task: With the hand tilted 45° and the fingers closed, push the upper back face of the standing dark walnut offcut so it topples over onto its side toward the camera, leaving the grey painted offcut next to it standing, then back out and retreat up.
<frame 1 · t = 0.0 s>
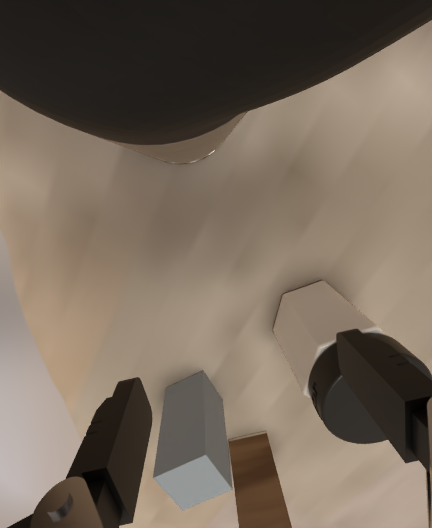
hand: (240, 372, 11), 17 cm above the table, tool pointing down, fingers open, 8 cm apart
walnut block: (250, 448, 36), on the table
grey block: (194, 393, 33), on the table
jar: (309, 315, 30), on the table
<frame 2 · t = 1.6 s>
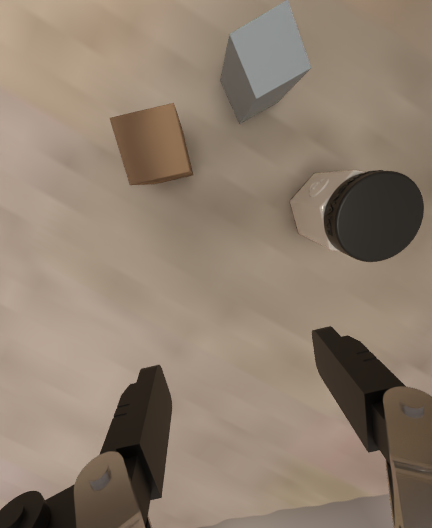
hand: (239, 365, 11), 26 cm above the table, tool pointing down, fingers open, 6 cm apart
walnut block: (168, 158, 33), on the table
grey block: (249, 91, 31), on the table
jar: (321, 207, 36), on the table
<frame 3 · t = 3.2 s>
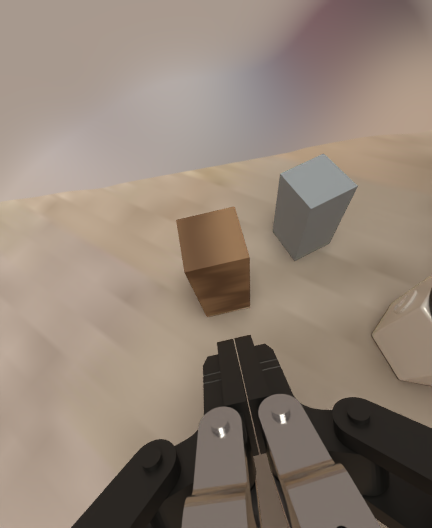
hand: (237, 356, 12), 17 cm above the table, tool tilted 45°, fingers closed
walnut block: (224, 292, 32), on the table
grey block: (300, 237, 34), on the table
jar: (418, 343, 27), on the table
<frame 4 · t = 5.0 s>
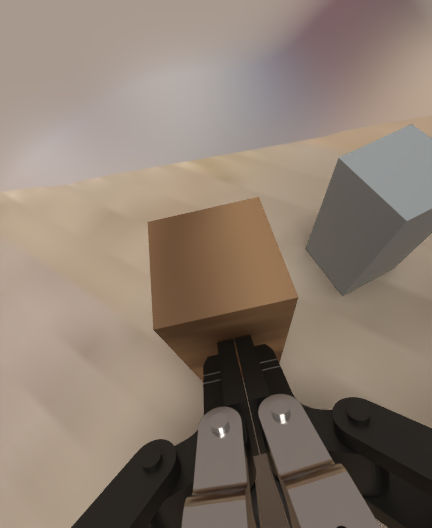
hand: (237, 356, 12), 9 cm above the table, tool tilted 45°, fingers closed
walnut block: (234, 344, 20), on the table, tilted 6°, touching gripper
grey block: (347, 258, 23), on the table
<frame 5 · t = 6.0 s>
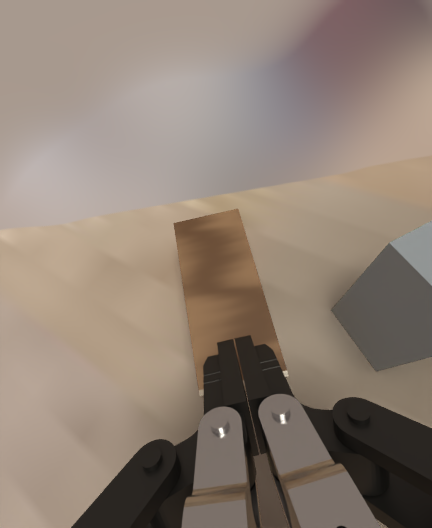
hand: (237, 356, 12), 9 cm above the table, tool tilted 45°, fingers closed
walnut block: (244, 388, 17), point 2 cm above the table, tilted 90°
grey block: (380, 323, 20), on the table
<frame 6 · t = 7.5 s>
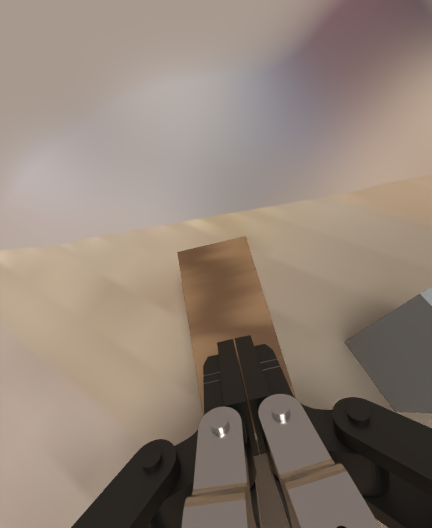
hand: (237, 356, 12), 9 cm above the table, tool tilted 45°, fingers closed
walnut block: (255, 435, 16), point 2 cm above the table, tilted 90°
grey block: (397, 357, 19), on the table
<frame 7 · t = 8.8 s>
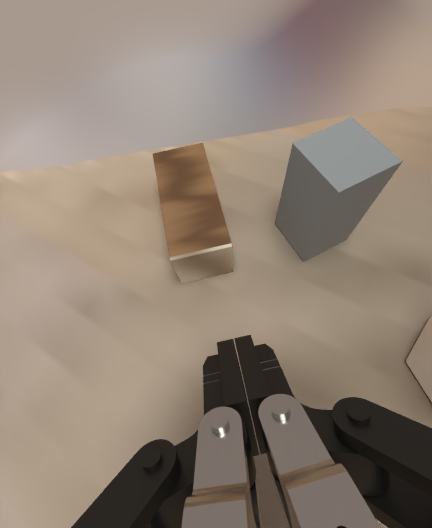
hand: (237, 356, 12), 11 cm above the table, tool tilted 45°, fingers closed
walnut block: (204, 266, 24), point 2 cm above the table, tilted 90°
grey block: (309, 231, 27), on the table
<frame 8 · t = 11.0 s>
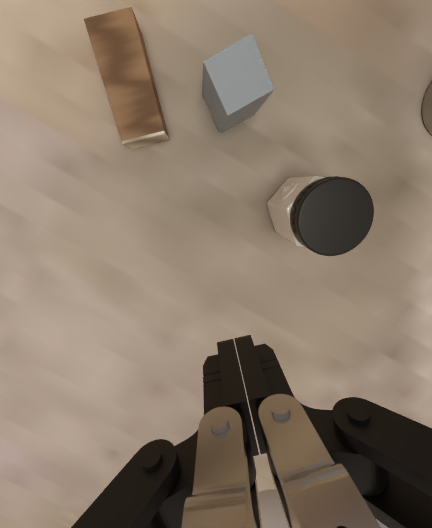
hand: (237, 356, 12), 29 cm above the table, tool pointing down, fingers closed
walnut block: (147, 141, 33), point 2 cm above the table, tilted 90°
grey block: (228, 105, 35), on the table
jar: (295, 208, 39), on the table
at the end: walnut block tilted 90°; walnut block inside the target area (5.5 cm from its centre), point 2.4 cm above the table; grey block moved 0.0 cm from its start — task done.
